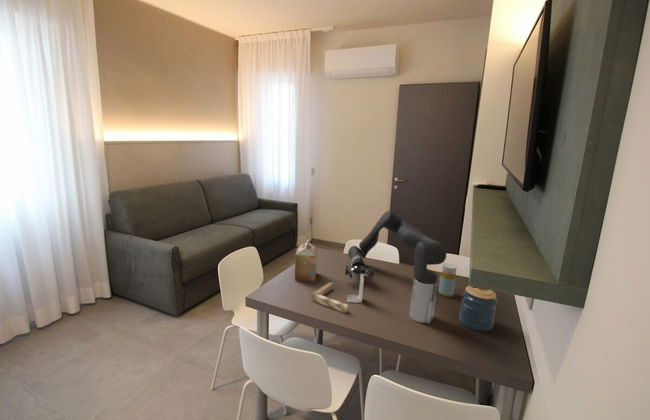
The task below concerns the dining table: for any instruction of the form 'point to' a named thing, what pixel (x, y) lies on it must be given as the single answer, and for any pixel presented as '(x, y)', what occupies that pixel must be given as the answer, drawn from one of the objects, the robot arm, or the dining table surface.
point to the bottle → (447, 280)
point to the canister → (478, 309)
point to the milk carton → (305, 262)
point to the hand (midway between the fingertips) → (360, 277)
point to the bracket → (359, 297)
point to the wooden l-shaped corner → (326, 301)
